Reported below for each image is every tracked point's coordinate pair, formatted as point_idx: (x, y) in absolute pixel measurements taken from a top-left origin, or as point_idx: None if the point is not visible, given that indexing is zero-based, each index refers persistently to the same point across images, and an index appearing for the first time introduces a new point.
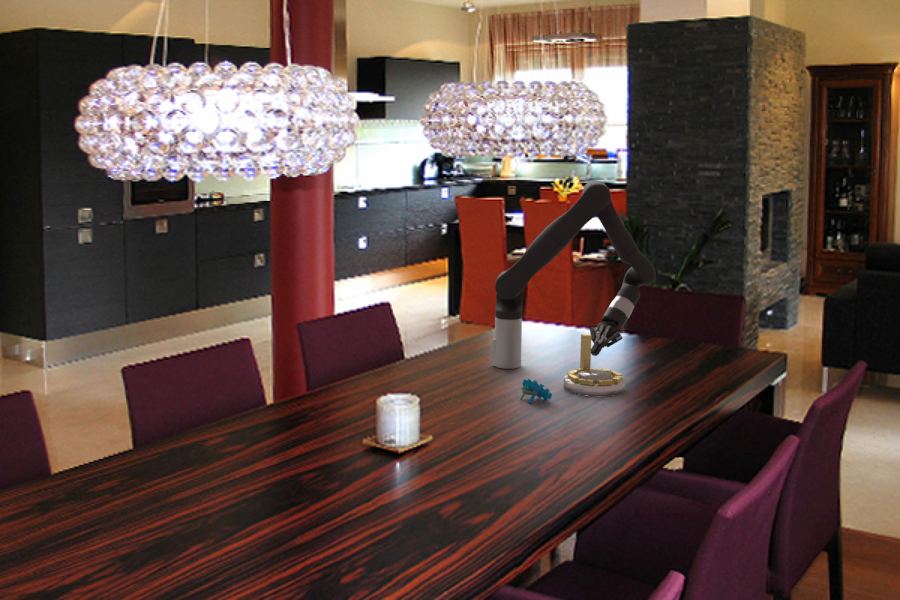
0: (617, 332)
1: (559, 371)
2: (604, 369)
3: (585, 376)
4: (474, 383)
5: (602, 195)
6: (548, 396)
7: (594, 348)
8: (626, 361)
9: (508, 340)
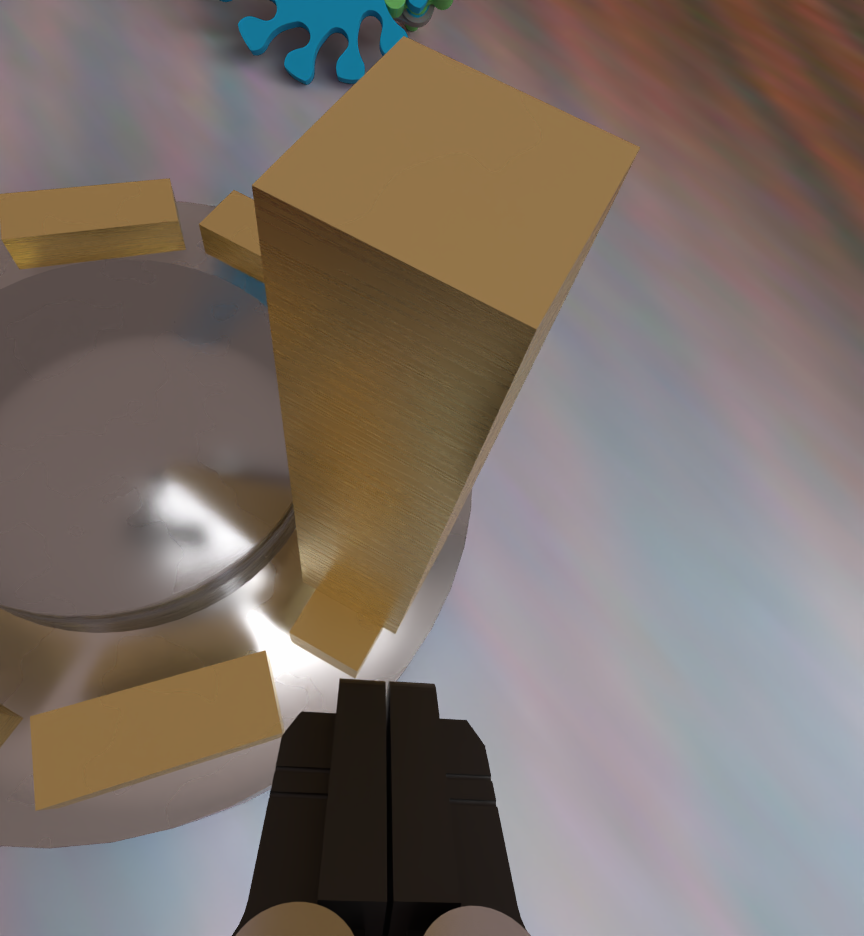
0: None
1: (859, 808)
2: (138, 741)
3: (152, 264)
4: (836, 131)
5: None
6: (252, 19)
7: (377, 747)
8: None
9: None
